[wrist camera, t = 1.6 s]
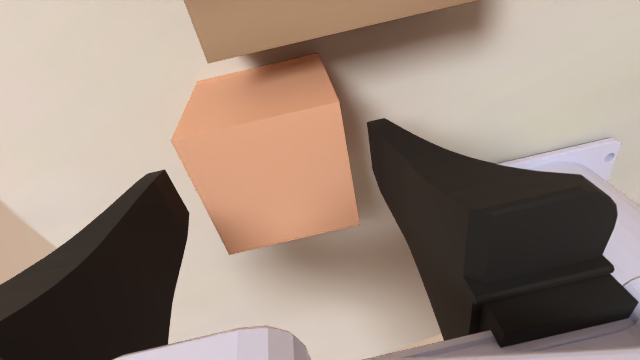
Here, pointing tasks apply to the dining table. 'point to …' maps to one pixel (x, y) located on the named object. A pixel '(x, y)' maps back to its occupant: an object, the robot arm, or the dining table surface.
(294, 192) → the terracotta block
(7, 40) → the dining table surface
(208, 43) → the light tan wooden block
